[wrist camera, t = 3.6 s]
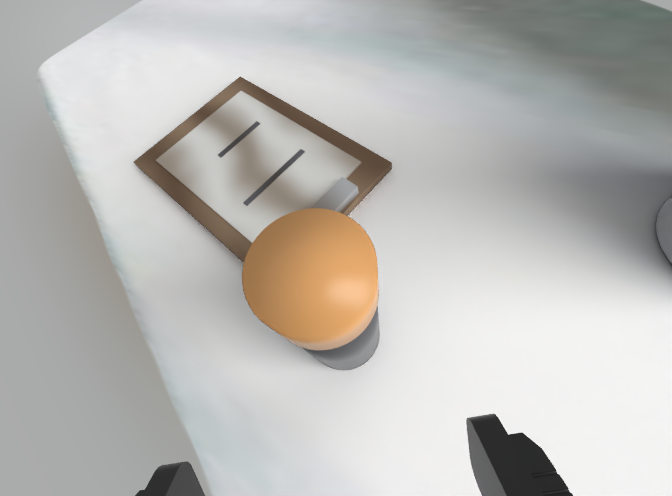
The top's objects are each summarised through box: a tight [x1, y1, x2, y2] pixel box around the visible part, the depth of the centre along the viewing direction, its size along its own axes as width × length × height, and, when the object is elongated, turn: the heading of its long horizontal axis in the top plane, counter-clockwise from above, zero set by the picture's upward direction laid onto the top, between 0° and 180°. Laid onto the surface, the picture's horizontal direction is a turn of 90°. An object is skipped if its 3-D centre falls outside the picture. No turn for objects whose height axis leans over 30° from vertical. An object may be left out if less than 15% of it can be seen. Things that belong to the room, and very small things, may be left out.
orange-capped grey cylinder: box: [242, 208, 379, 370], centre depth 18 cm, size 5×5×12 cm
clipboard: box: [134, 77, 392, 262], centre depth 30 cm, size 14×20×2 cm
